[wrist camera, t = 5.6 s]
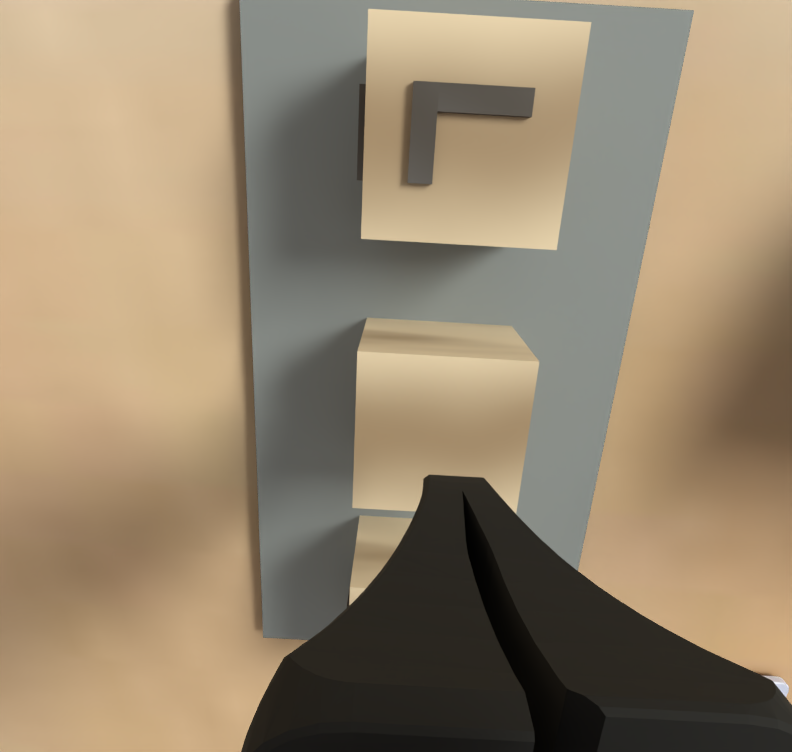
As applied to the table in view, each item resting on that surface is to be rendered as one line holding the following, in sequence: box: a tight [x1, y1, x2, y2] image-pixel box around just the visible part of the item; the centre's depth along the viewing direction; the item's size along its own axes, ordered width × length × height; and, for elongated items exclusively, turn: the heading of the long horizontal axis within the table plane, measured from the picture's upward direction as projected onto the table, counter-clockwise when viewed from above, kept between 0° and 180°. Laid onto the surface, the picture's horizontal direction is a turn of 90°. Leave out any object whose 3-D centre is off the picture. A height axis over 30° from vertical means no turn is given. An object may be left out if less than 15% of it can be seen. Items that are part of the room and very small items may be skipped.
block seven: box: [357, 9, 591, 250], centre depth 14 cm, size 5×5×4 cm
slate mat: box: [239, 0, 694, 640], centre depth 19 cm, size 24×13×1 cm, turn 177°
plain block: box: [352, 318, 539, 513], centre depth 17 cm, size 5×5×4 cm
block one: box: [347, 516, 413, 607], centre depth 20 cm, size 5×5×4 cm
